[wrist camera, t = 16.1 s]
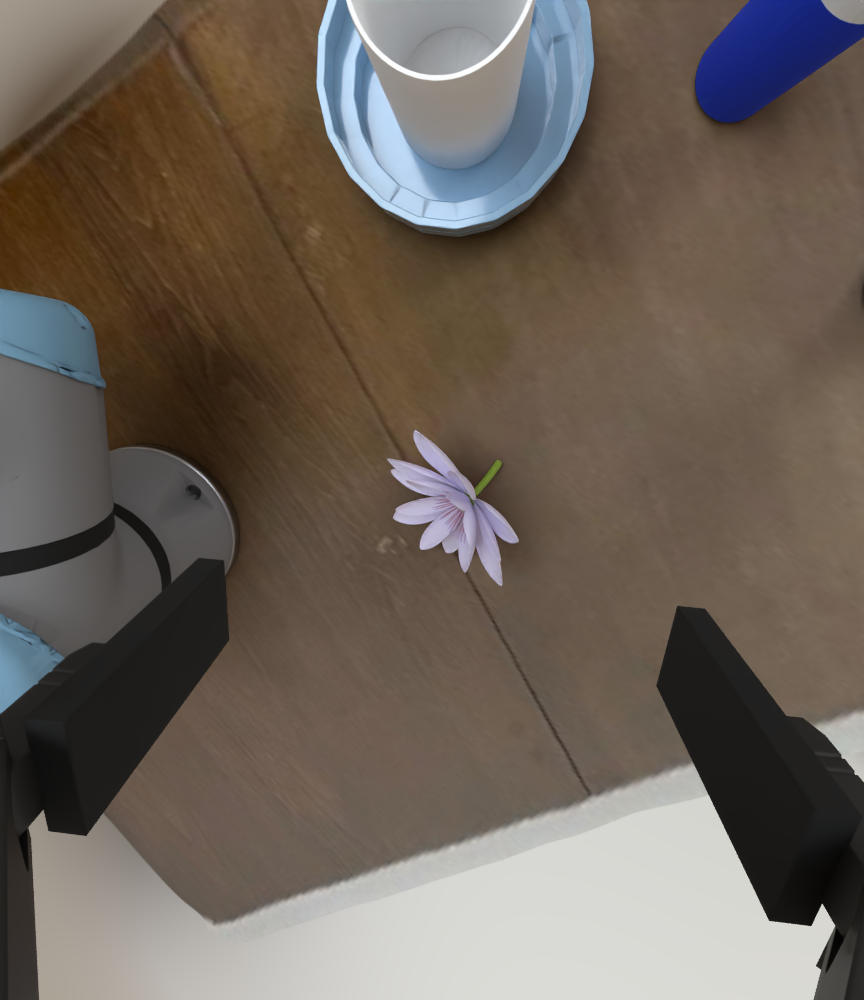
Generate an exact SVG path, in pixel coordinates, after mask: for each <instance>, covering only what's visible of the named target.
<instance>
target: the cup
mask: <svg viewBox="0 0 864 1000" xmlns="http://www.w3.org/2000/svg"><path fill="white" fill-rule="evenodd" d="M535 1H536V0H346V2H347V6H348V9H349V12H350V15H351V18H352V20H353V23H354V25H355V27H356V30H357V32H358V34H359V36H360V39H361V41H362V43H363V46H364V48H365V50H366V52H367V55H368V57H369V59H370V61H371V64H372V66H373V68H374V70H375V73H376V75H377V77H378V79H379V82H380V84H381V86H382V88H383V91H384V93H385V95H386V97H387V100H388V102H389V104H390V106H391V109H392V111H393V113H394V115H395V118H396V120H397V122H398V124H399V127H400V129H401V131H402V133H403V135H404V137H405V139H406V141H407V142H408V144H409V145H410V147H411V148H412V149H413V150H414V152H415V153H417V154H418V155H419V156H420V157H421V158H422V159H424V160H425V161H427V162H428V163H430V164H432V165H434V166H437V167H440V168H445V169H463V168H467V167H470V166H473V165H476V164H478V163H480V162H481V161H483V160H485V159H486V158H487V157H489V156H490V155H491V154H492V153H493V152H494V151H495V150H496V149H497V148H498V147H499V145H500V144H501V143H502V141H503V140H504V138H505V137H506V135H507V133H508V131H509V129H510V126H511V124H512V121H513V118H514V114H515V109H516V104H517V98H518V93H519V88H520V82H521V77H522V72H523V66H524V61H525V55H526V50H527V45H528V39H529V34H530V28H531V23H532V18H533V12H534V7H535Z"/></svg>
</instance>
